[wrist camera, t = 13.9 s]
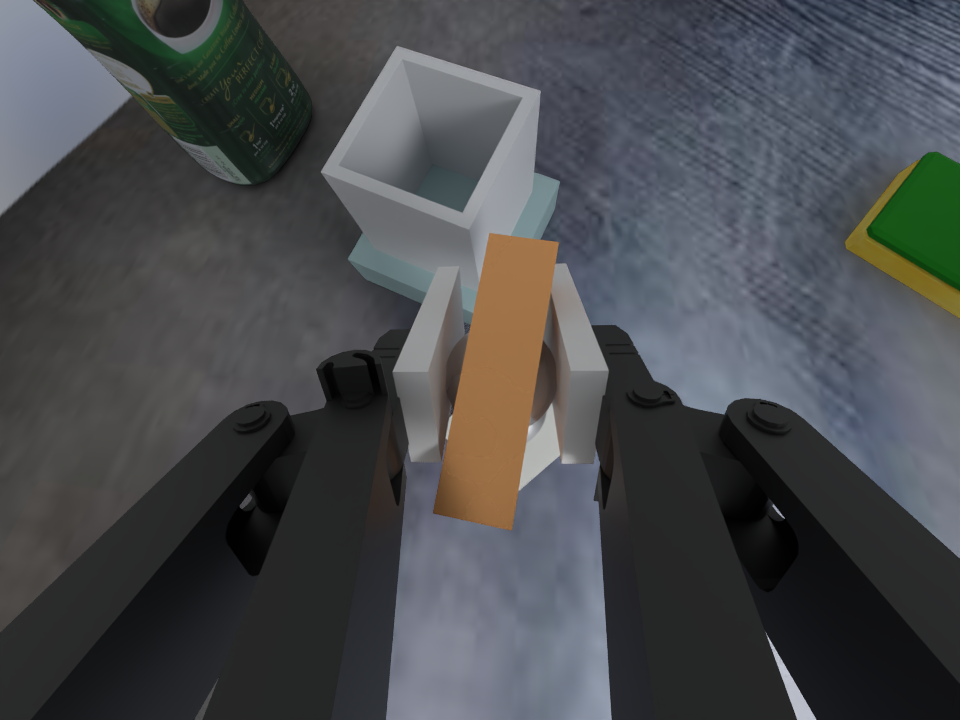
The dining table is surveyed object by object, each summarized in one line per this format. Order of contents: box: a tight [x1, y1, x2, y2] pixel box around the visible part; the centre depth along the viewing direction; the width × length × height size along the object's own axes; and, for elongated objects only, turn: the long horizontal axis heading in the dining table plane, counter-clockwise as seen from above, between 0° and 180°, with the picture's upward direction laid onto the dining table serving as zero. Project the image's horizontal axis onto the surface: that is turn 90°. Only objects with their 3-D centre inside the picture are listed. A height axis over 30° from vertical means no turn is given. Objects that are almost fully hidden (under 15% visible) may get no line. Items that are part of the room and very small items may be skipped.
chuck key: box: [433, 233, 559, 531], centre depth 15 cm, size 7×4×12 cm, turn 169°
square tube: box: [321, 46, 560, 325], centre depth 22 cm, size 10×10×10 cm
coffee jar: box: [34, 0, 312, 185], centre depth 21 cm, size 10×8×19 cm
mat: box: [446, 403, 560, 491], centre depth 24 cm, size 8×6×1 cm
